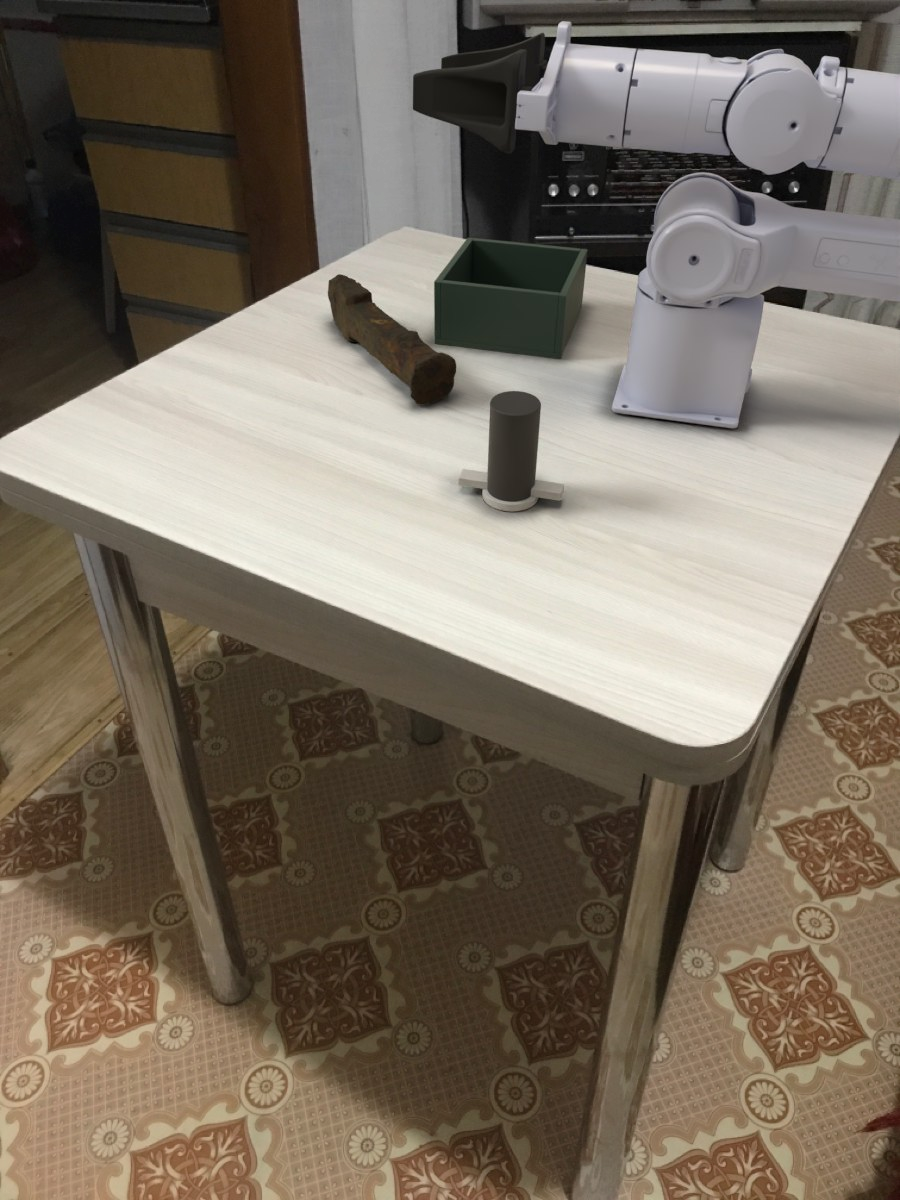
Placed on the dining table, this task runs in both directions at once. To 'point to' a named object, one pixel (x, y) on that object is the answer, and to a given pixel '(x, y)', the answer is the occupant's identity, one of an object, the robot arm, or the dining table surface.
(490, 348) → the green storage bin
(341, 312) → the hand tool
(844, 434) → the dining table surface
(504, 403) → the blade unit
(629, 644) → the dining table surface
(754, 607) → the dining table surface
